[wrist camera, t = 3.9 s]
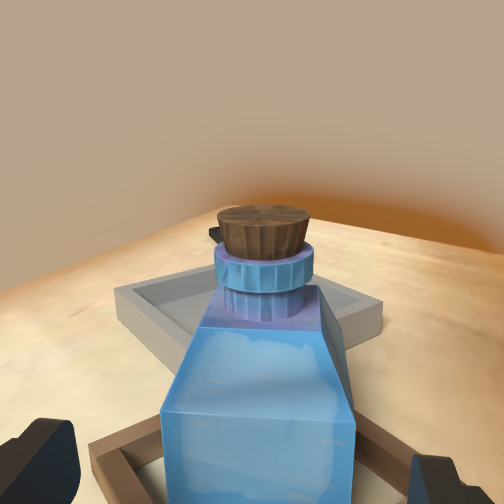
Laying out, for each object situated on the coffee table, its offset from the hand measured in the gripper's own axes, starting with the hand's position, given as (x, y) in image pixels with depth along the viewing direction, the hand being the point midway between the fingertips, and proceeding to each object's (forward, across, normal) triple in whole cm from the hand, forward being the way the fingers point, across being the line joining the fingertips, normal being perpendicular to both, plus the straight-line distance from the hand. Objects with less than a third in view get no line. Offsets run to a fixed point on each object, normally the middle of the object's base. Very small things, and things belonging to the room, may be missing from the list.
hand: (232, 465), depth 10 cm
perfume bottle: (+6, 0, +8) cm, 10 cm away
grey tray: (+21, +4, +8) cm, 23 cm away
